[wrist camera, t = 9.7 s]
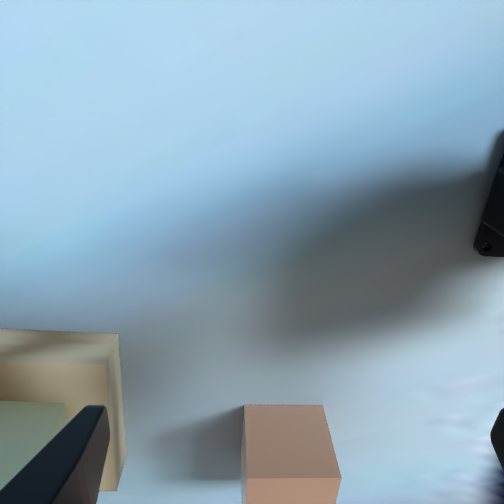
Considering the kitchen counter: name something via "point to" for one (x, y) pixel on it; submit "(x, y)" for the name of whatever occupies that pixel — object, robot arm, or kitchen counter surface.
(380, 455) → the kitchen counter surface
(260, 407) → the terracotta cube
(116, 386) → the oak block
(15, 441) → the sage cube
